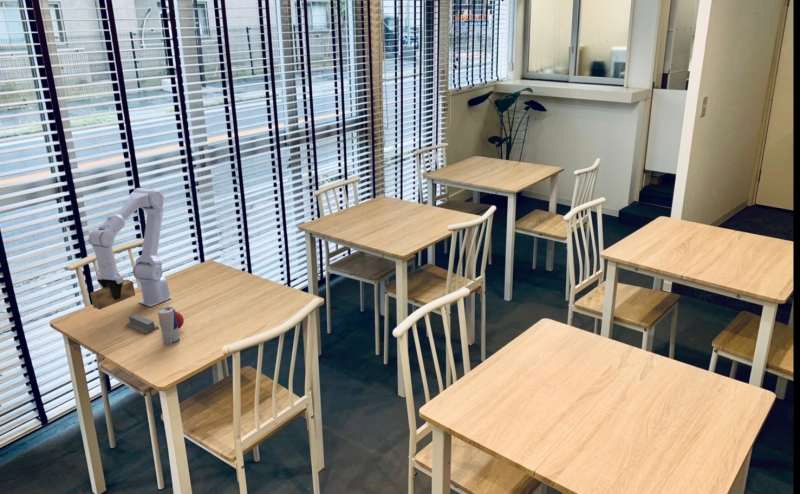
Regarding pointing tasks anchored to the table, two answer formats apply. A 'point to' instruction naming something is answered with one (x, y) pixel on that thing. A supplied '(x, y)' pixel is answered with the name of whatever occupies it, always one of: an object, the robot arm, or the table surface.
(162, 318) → the energy drink
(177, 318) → the onion
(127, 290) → the batten
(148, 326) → the ridge
